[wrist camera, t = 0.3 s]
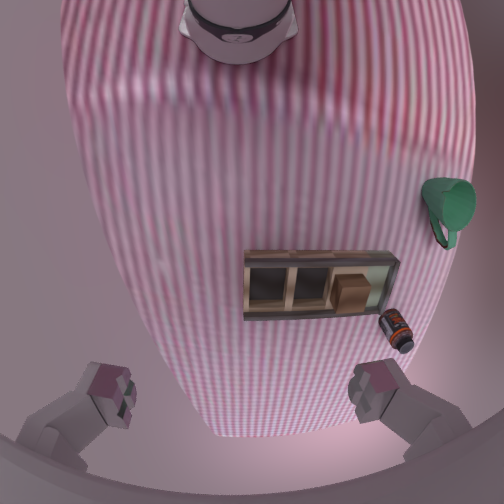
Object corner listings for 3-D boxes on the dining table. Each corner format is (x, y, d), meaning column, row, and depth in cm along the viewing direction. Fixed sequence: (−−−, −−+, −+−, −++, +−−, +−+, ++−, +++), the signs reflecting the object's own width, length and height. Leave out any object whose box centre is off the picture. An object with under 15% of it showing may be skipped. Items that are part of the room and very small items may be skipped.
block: (334, 274, 50) (342, 287, 46) (362, 273, 50) (371, 286, 46) (329, 299, 53) (335, 313, 49) (355, 298, 53) (363, 311, 49)
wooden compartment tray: (244, 250, 50) (245, 263, 46) (389, 250, 52) (400, 262, 47) (243, 306, 56) (243, 322, 51) (374, 301, 58) (383, 314, 53)
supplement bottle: (400, 305, 59) (421, 335, 49) (395, 323, 62) (414, 353, 52) (380, 310, 59) (400, 342, 49) (375, 327, 62) (393, 360, 52)
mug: (412, 168, 44) (444, 181, 35) (446, 166, 44) (478, 179, 35) (410, 236, 51) (436, 259, 42) (442, 229, 50) (469, 250, 42)
